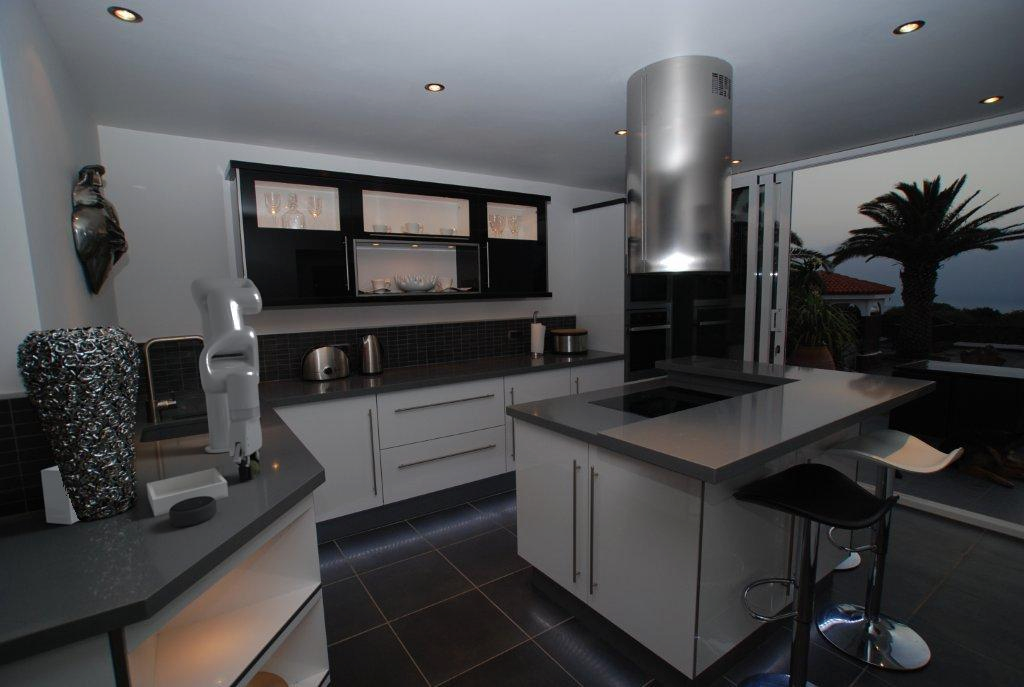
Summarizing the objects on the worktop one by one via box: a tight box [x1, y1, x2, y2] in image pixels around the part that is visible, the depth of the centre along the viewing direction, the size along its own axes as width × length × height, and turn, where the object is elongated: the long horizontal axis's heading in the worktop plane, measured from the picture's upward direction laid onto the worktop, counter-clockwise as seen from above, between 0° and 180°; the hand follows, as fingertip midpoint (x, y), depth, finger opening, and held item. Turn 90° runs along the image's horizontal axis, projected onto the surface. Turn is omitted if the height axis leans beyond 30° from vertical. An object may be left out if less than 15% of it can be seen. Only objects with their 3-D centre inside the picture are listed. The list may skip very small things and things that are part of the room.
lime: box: [250, 460, 261, 479], centre depth 130 cm, size 4×5×5 cm
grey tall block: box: [40, 465, 80, 525], centre depth 109 cm, size 7×7×13 cm
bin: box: [146, 467, 229, 517], centre depth 118 cm, size 15×15×4 cm
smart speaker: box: [168, 496, 218, 528], centre depth 106 cm, size 9×9×4 cm
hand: (250, 476), depth 131 cm, fingers closed on lime, 4 cm apart
